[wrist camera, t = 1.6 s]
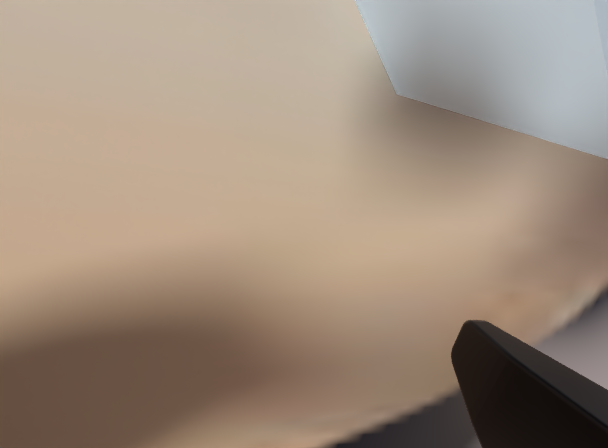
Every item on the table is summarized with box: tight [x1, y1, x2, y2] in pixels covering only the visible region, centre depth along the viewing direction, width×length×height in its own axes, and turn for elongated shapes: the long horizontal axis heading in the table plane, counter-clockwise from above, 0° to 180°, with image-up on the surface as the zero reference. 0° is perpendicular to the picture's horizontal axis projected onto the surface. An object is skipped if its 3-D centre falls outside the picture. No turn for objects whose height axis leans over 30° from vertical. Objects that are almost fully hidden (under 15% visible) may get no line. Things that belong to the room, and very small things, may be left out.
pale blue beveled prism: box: [355, 0, 608, 159], centre depth 15 cm, size 5×5×10 cm
